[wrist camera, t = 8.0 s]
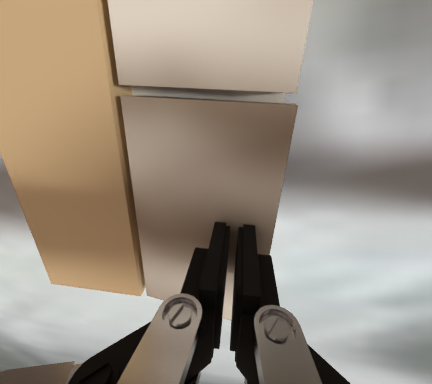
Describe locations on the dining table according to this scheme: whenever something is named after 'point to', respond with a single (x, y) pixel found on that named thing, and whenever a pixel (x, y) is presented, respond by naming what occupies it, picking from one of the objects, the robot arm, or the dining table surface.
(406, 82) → the dining table surface
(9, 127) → the floor board
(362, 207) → the dining table surface
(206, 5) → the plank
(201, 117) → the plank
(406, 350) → the dining table surface
